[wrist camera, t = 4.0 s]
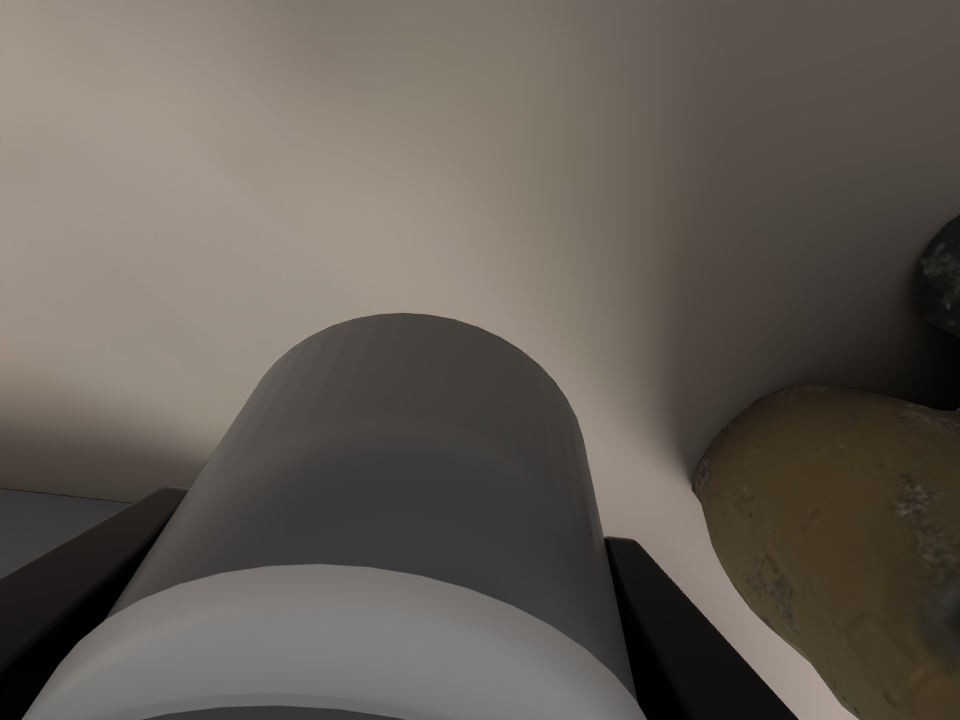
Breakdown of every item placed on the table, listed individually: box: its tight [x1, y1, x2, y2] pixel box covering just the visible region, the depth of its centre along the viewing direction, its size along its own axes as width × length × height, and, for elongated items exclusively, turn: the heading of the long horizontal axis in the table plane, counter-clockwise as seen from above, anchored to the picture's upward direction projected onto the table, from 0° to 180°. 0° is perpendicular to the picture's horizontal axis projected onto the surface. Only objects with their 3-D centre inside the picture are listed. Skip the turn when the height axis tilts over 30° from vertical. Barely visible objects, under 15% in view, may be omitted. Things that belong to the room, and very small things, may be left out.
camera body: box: [0, 489, 131, 578], centre depth 21 cm, size 14×10×5 cm
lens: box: [22, 313, 647, 720], centre depth 7 cm, size 5×5×7 cm
